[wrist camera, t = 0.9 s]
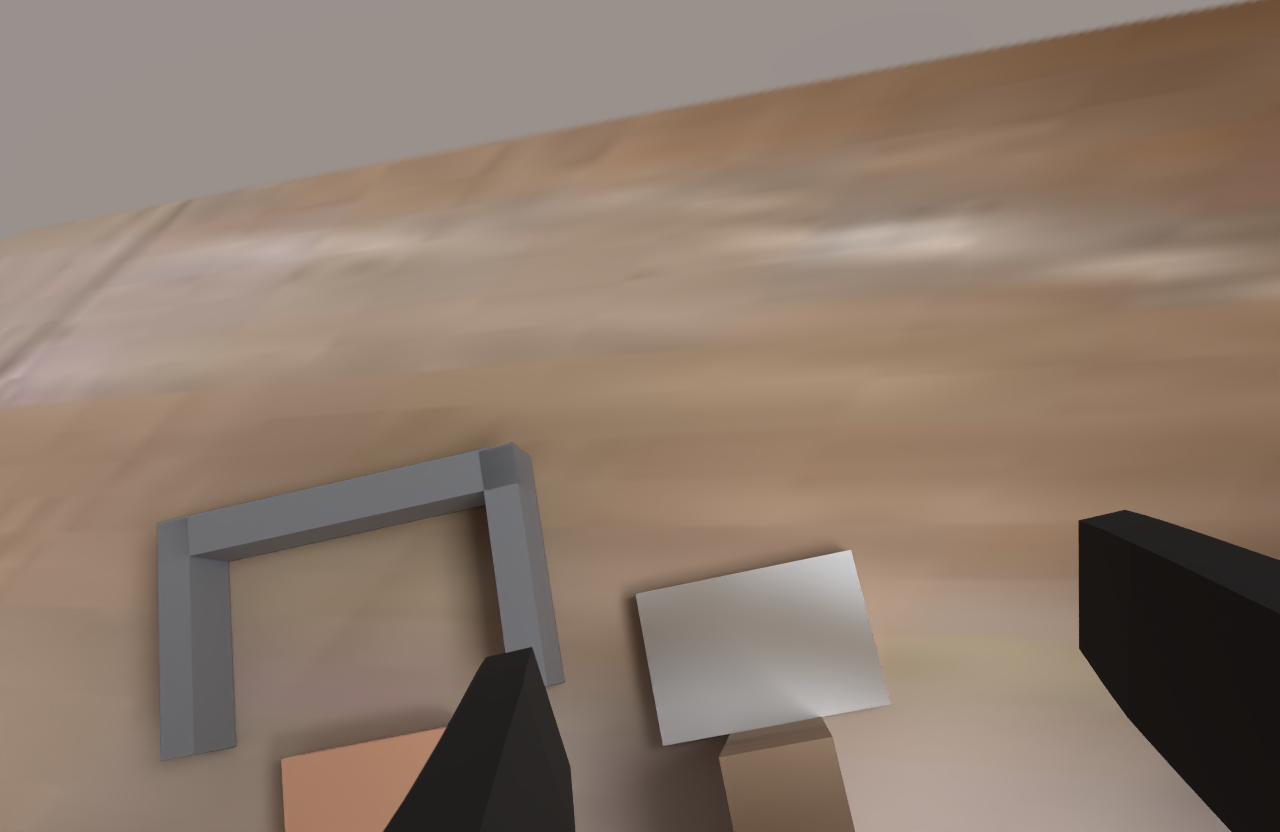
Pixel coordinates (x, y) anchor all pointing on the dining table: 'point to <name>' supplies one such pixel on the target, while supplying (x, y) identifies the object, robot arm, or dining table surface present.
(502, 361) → the dining table surface
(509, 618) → the bay
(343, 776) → the tile
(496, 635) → the dining table surface
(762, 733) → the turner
